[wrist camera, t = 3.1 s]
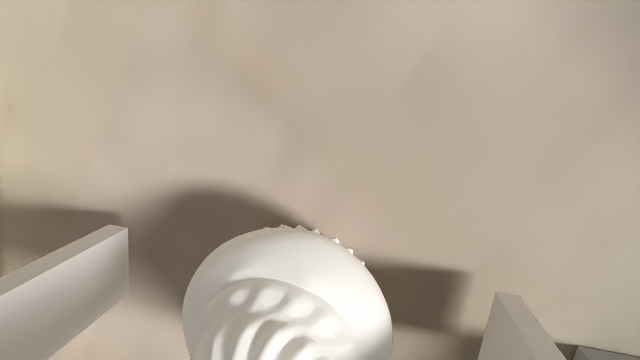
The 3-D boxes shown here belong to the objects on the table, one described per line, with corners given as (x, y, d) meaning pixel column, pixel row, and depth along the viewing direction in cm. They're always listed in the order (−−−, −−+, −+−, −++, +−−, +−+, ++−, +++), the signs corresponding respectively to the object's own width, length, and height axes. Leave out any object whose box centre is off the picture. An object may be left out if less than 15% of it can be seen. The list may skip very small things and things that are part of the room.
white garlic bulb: (261, 166, 13) (138, 247, 6) (417, 235, 13) (464, 397, 6) (212, 301, 15) (73, 477, 8) (348, 364, 14) (324, 602, 8)
